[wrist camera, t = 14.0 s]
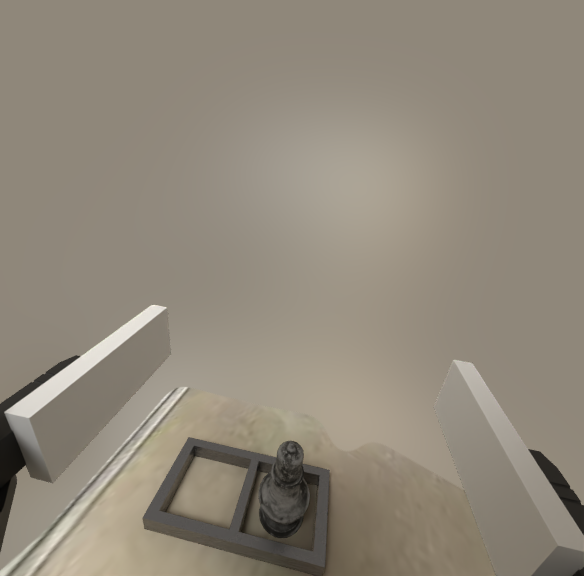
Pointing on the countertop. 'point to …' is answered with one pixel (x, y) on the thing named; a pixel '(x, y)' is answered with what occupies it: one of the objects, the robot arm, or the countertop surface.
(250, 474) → the grey flat rectangular frame
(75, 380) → the robot arm
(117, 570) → the countertop surface
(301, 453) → the dark grey chess piece
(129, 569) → the countertop surface
